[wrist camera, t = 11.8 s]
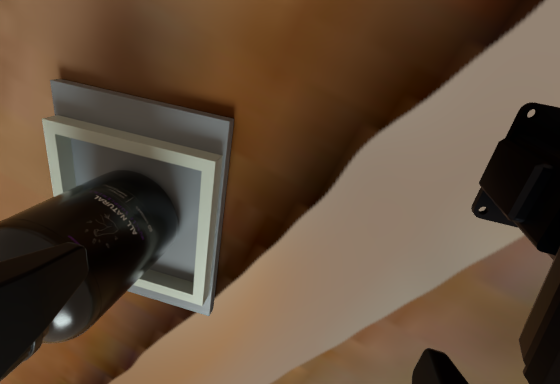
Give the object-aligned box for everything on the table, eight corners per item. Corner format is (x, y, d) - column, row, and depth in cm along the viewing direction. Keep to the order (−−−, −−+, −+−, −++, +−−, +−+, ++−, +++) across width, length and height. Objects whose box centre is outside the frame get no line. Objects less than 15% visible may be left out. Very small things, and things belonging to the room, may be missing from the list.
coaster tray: (234, 118, 20) (222, 126, 18) (213, 308, 27) (202, 327, 25) (60, 78, 21) (33, 82, 20) (83, 269, 29) (65, 284, 27)
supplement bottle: (183, 178, 22) (9, 305, 11) (180, 262, 24) (41, 428, 14) (90, 156, 23) (-156, 253, 12) (98, 239, 25) (-94, 378, 15)
